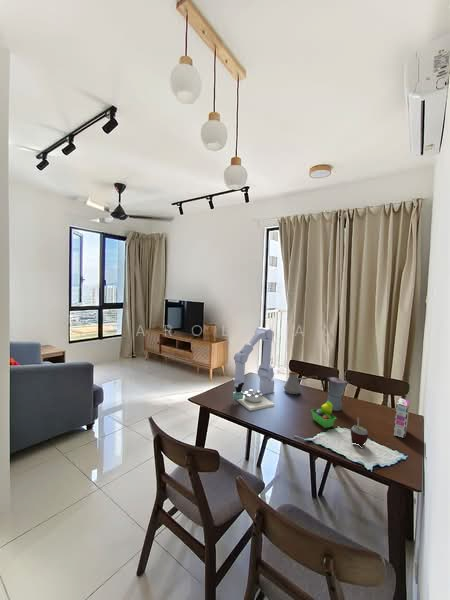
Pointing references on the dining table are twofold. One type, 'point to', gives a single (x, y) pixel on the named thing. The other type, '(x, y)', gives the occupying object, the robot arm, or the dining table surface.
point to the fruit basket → (324, 415)
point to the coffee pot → (294, 383)
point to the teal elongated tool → (249, 396)
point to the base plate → (256, 404)
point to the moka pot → (335, 391)
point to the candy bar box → (401, 417)
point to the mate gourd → (359, 434)
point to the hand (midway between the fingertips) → (238, 394)
